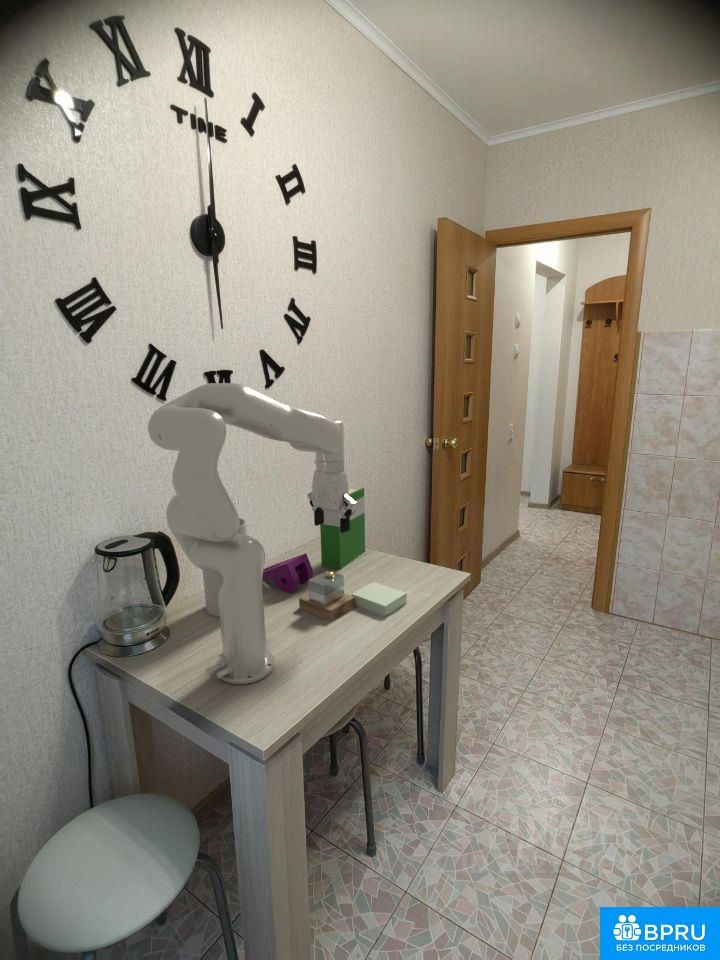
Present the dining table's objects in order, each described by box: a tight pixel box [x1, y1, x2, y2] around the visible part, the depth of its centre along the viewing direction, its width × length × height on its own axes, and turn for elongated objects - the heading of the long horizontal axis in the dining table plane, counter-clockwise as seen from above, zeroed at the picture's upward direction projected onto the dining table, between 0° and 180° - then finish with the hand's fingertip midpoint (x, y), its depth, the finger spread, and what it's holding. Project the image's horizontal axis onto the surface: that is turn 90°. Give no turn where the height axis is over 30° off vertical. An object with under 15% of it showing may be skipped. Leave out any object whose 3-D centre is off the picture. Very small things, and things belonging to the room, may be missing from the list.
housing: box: [307, 570, 345, 606], centre depth 137 cm, size 8×6×7 cm
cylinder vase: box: [202, 517, 248, 618], centre depth 136 cm, size 12×12×25 cm
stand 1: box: [298, 592, 356, 622], centre depth 138 cm, size 10×12×3 cm
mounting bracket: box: [263, 552, 314, 594], centre depth 154 cm, size 9×8×18 cm
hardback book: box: [319, 487, 366, 570], centre depth 170 cm, size 18×7×24 cm, turn 151°
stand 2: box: [351, 581, 407, 617], centre depth 140 cm, size 10×12×3 cm
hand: (331, 527), depth 134 cm, fingers open, 9 cm apart
